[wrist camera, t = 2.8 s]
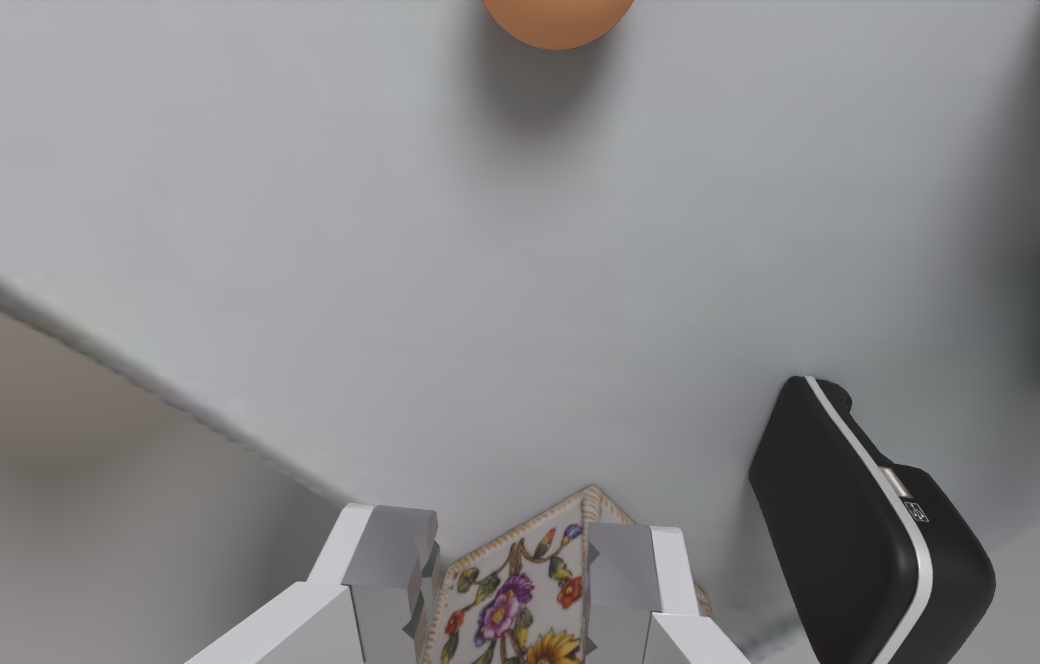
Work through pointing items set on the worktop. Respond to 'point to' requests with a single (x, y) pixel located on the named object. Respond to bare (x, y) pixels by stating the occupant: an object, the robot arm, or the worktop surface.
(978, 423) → the worktop surface
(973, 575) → the battery charger
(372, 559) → the robot arm
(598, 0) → the ball
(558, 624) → the decorative jar
